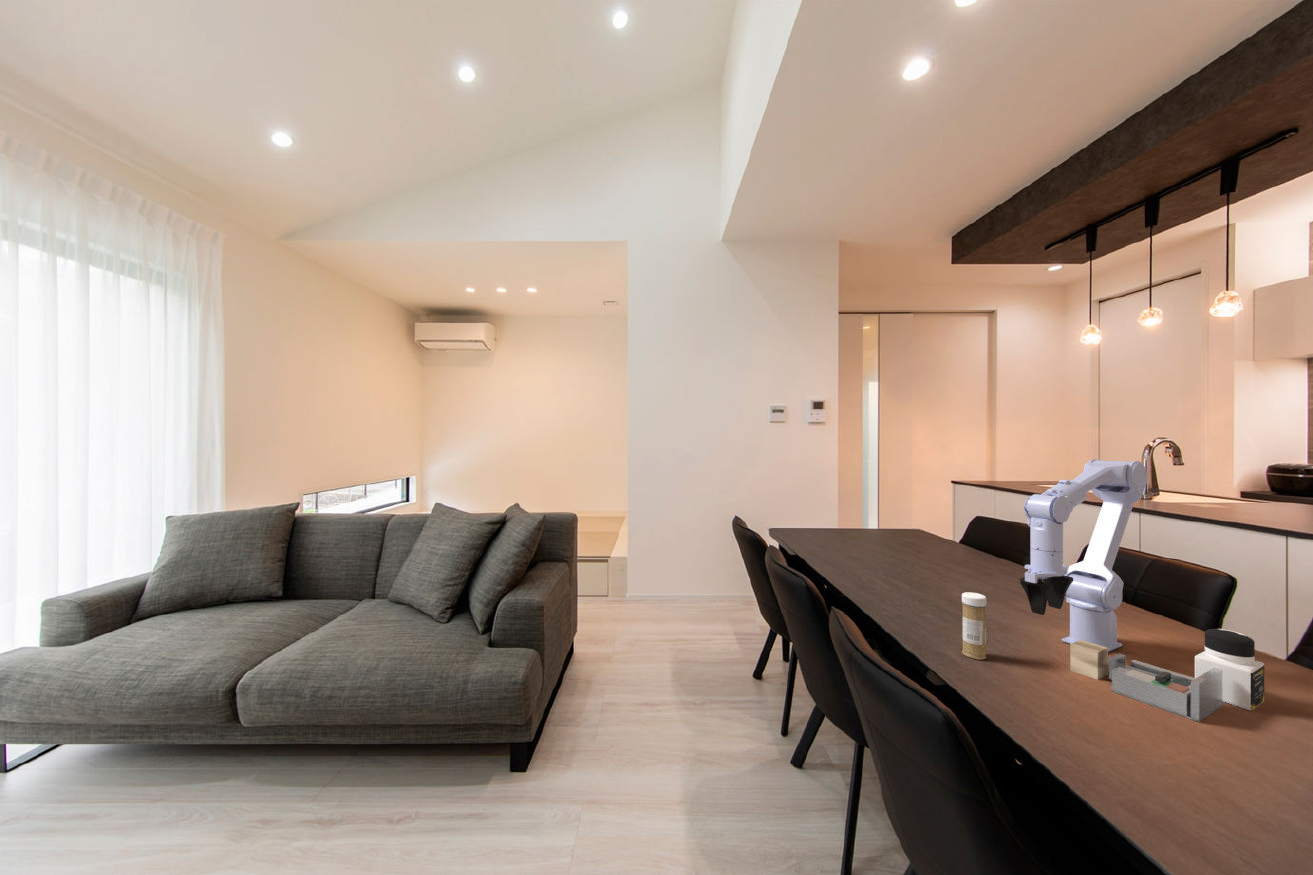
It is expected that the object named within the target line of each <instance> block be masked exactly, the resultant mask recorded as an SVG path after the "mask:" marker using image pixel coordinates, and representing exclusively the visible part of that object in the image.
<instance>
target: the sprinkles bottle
mask: <svg viewBox="0 0 1313 875" xmlns="http://www.w3.org/2000/svg"><path fill="white" fill-rule="evenodd" d="M961 602H962V603H961V604H962V625H961V626H962V628H961V629H962V633H961V634H962V651H961V652H962V654H963V656H966V657H967V658H969V659H973V660H977V661H979V660H980V661H981V660H985V659H987V654H986V653H987V652H986V651H987V646H986V644H987V628H986V625H987V623H986V616H987V615H986V608H987V607H986V606H987V596H985V595H984V594H982V593H981V594H980V593H978V592H971V591H970V592H968V591H967V592H966V591H965V592H963V593H961Z"/></svg>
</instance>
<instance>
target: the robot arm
mask: <svg viewBox="0 0 1313 875" xmlns="http://www.w3.org/2000/svg"><path fill="white" fill-rule="evenodd" d="M1147 482H1148V474H1147V469H1146V467H1145V465H1144V464H1143V463H1142V462H1141V461H1140V460H1132V461H1129V460H1128V461H1124V460H1102V459H1101V460H1100V459H1090V460H1089V461H1087V462H1086V463H1084V466H1083V471H1082V472H1081V473H1080V474H1079V475H1077V476H1076V477H1075V478H1073V479H1060V480H1059V481H1058V483H1056V484H1054V485H1053V486H1052V487H1050V488H1048V489H1046V491H1044V492H1043V493H1042V494H1040V493H1039V494H1038V493H1034V494H1032V495H1030V496H1028V497H1027V498H1026V500H1025V502H1024V505H1023V513H1024V515H1025V517H1026V521H1027V526H1028V527H1030V533H1029V534H1030V535H1029V536H1030V538H1029V539H1030V544H1029V545H1030V553H1029V554H1030V557H1029V558H1030V564H1025V565H1024V569H1026V570H1027V571H1025V572H1024V577H1021V578H1019V584H1020V585H1021V586H1022V589H1024V592H1025V595H1026V596H1027V600H1028V603H1029V606H1030V610H1031V613H1033V614H1037V615H1041V616H1044V615H1045V613H1046V611H1047V605H1048V607H1051V608H1054V609H1057V610H1061V609H1062V607H1063V604H1064V600H1065V601H1066V603H1068V604H1069V635H1068V636H1066V637H1062V638H1061V641H1062V642H1064V643H1068V644H1069V645H1070V644H1072V643H1074V642H1077V641H1079V640H1083V641H1086V642H1090V643H1093V644H1097V645H1100V646H1103V647H1107V648H1108V653H1109V652H1111V651H1114V650H1115V649H1116V650H1117V649H1119V648H1120V647H1122V646H1123V643H1121V642H1118V618H1117V614H1116V613H1115V611H1116V610H1117V609H1118V608H1119V607H1120V606H1121V604H1122V601H1123V589H1124V581H1123V580H1122V579H1121V577H1120V576H1119V575H1118V574H1117V573H1116V572H1115V571H1113V566H1114V564H1115V562H1116V558H1117V554H1118V552H1119V549H1120V546H1121V542H1122V540H1123V538H1124V537H1123V536H1124V534H1125V531H1126V527H1127V525H1128V522H1129V519H1130V516H1131V513H1132V510H1133V507H1134V504H1135V502H1136V503H1137V502H1138V501H1140V500H1142V497H1143V495H1144V493H1145V492H1144V491H1145V490H1146V486H1147ZM1090 491H1092V493H1093V495H1094V496H1095V497H1097V498H1098V499H1100V500H1102V506H1101V509H1100V510H1099V515H1098V518H1097V519H1096V523H1095V526H1094V529H1093V532H1092V535H1091V537H1090V540H1089V543H1088V546H1087V549H1086V552H1085V555H1084V558H1083V560H1081V561H1079V562H1077V563H1074V564H1071V565H1069V566H1068V565H1065V564H1064V523H1066V522H1067V521H1068V520H1069V519H1070V515H1071V513H1072V512H1073V511H1074V508H1076V507H1077V506H1079V505H1080V504H1081V503H1084V501H1086V499H1087V496H1088V495H1087V493H1089V492H1090Z"/></svg>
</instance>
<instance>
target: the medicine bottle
mask: <svg viewBox="0 0 1313 875" xmlns="http://www.w3.org/2000/svg"><path fill="white" fill-rule="evenodd" d="M1255 647H1256V646H1255V640H1253V638H1251V637H1250V636H1247V635H1246V634H1243V633H1240V632H1238V631H1234V630H1228V629H1225V628H1224V629H1222V628H1210V629H1207V630H1205V631H1204V651H1202V652H1200V653H1198V654H1196V655H1195V656H1194V678H1197V677H1199V676H1201V675H1202V674H1204V673H1206V672H1207V671H1209V670H1211V669H1212V668H1218V669H1222V703H1225V702H1226V703H1225V704H1228V703H1229V705H1231V704H1232V706H1234V707H1237V706H1238V708H1241V709H1244V710H1247V711H1250V712H1251V711H1254V710H1255V709H1256V708H1257V707H1259V705H1261V704H1263V703H1264V702H1265V663H1264V662H1262V661H1258V660H1255V657H1256V656H1255V653H1256V651H1255V649H1256V648H1255Z"/></svg>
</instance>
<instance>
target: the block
mask: <svg viewBox="0 0 1313 875" xmlns="http://www.w3.org/2000/svg"><path fill="white" fill-rule="evenodd" d="M1069 645H1070V646H1069V650H1070V651H1069V652H1070V653H1069V654H1070V655H1069V657H1070V659H1069V660H1070V661H1069V663H1070V667H1069V671H1071V672H1074V673H1077V674H1080V675H1082V676H1085V677H1089V678H1091V679H1094V680H1097V681H1098V680H1101V679H1102V678H1105V677H1107V676H1109V652H1108V648H1107V647H1103V646H1100V645H1097V644H1093V643H1090V642H1086V641H1083V640H1079V641H1077V642H1074V643H1072V644H1070V643H1069Z"/></svg>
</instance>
